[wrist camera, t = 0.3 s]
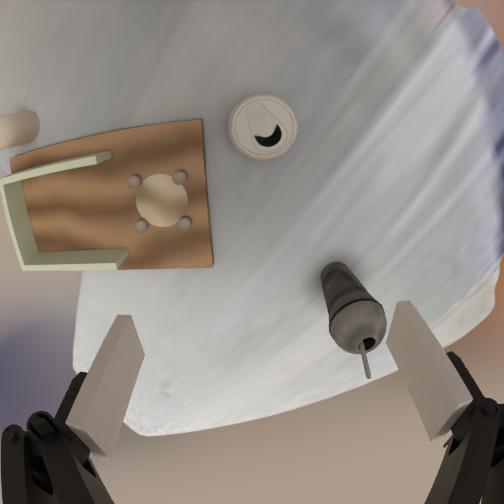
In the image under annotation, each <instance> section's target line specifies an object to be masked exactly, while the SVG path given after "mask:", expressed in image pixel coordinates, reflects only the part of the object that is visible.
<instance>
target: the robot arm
mask: <svg viewBox="0 0 504 504" xmlns="http://www.w3.org/2000/svg"><path fill="white" fill-rule="evenodd" d="M386 344H387V346H388V348H389V350H390V352H391V354H392V356H393V358H394V360H395V362H396V364H397V366H398V368H399V370H400V372H401V375H402V377H403V379H404V381H405V383H406V385H407V387H408V390H409V392H410V394H411V396H412V399H413V401H414V403H415V405H416V407H417V410H418V412H419V414H420V417H421V419H422V421H423V424H424V426H425V429H426V431H427V434H428V436H429V438H430V441H433V440H436V439H438V438H441V437H444V436H445V435H446V434H447V433H448V432H449V430H450V429H451V431H452V433H453V435H452V436H451V437H450V438H449V439H448V440H447V442H446V443H445V444H444V446H443V447H446V446H447V445H448V447H447V450H446V453H445V455H444V458H443V461H442V464H441V466H440V469H439V471H438V474H437V476H436V479H435V481H434V484H433V486H432V488H431V491H430V493H429V495H428V497H427V500H426V502H425V504H479V503H480V500H481V497H482V501H481V504H504V404H498V403H497V402H496V401H495V400H493V399H491V398H485V397H484V396H483V394H482V392H481V391H480V389H479V387H478V386H477V384H476V382H475V381H474V379H473V378H472V376H471V374H469V371H468V370H467V368H465V366H464V363H463V362H462V360H461V359H460V357H458V356H457V355H456V354H455V353H453V352H452V351H451V352H448V353H445V351H444V350H443V348H442V347H441V345H440V343H439V342H438V340H437V339H436V337H435V336H434V334H433V333H432V331H431V330H430V328H429V327H428V325H427V324H426V323H425V321H424V320H423V318H422V317H421V315H420V314H419V312H418V311H417V310H416V308H415V307H414V305H413V304H412V303H411V301H410V300H409V301H401V302H397V305H396V309H395V312H394V316H393V320H392V323H391V327H390V330H389V334H388V337H387V340H386ZM144 356H145V354H144V351H143V348H142V346H141V343H140V340H139V337H138V335H137V332H136V329H135V326H134V323H133V320H132V317H131V315H117V317H116V318H115V320H114V322H113V324H112V326H111V328H110V330H109V332H108V333H107V335H106V337H105V339H104V341H103V343H102V345H101V347H100V349H99V351H98V353H97V355H96V357H95V359H94V361H93V363H92V365H91V367H90V369H89V371H88V373H86V372H80V373H79V374H78V375H77V376H76V377H75V378H74V379H73V380H72V382H71V384H70V386H69V390H67V392H66V394H65V397H64V398H63V401H62V403H61V405H60V407H59V409H58V412H57V414H56V416H55V418H53V417H52V416H51V415H50V414H49V413H48V412H45V411H39V412H36V413H34V414H32V415H31V417H30V418H29V419H28V422H27V430H28V431H27V432H26V431H24V430H23V429H22V428H21V427H20V426H18V425H14V424H13V425H10V426H8V427H7V428H5V430H4V431H3V434H2V441H1V485H2V499H3V504H114V502H113V500H112V499H111V497H110V495H109V493H108V492H107V490H106V488H105V486H104V484H103V482H102V481H101V479H100V477H99V475H98V473H97V471H96V469H95V467H94V465H93V463H92V461H91V459H90V458H89V454H90V451H91V452H92V453H93V454H94V455H95V456H96V457H99V458H104V459H108V460H112V458H113V454H114V450H115V447H116V443H117V440H118V437H119V433H120V430H121V426H122V423H123V420H124V417H125V413H126V410H127V407H128V404H129V401H130V397H131V394H132V391H133V388H134V385H135V382H136V379H137V376H138V373H139V370H140V367H141V364H142V362H143V359H144Z"/></svg>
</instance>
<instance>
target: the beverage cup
mask: <svg viewBox="0 0 504 504" xmlns="http://www.w3.org/2000/svg"><path fill="white" fill-rule="evenodd" d="M321 281H322V287H323V292H324V296H325V300H326V305H327V309H328V314H329V332H330V334H331V336H332V338H333V339H334V340H335V342H336V344H337V345H338V346H339V347H340V348H342V349H343V350H345V351H346V352H349V353H353V354H361V355H362V360H363V364H364V369H365V373H366V378H367V379H370V378H371V373H370V369H369V365H368V360H367V356H366V353H368V352H370V351H372V350H373V349H375V348H376V347H377V346H378V345H379V344H380V343H381V341H382V340H383V337H384V335H385V333H386V325H387V321H386V317H385V312H384V309H383V306H382V305H381V304H380V303H379V302H378V301H376V300H375V299H374V298H373V297H372V296H371V295H370V294H369V293H368V292H367V290H366V289H365V288H364V287H363V285H362V284H361V283H360V282H359V280H358V279H357V278H356V277H355V275H354V274H353V273H352V272H351V270H350V269H349V268H348V267H347V266H346V265H345V264H343V263H340V262H335V263H331V264H329V265H327V266H326V267H325V268H324V270H323V271H322V274H321Z"/></svg>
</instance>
